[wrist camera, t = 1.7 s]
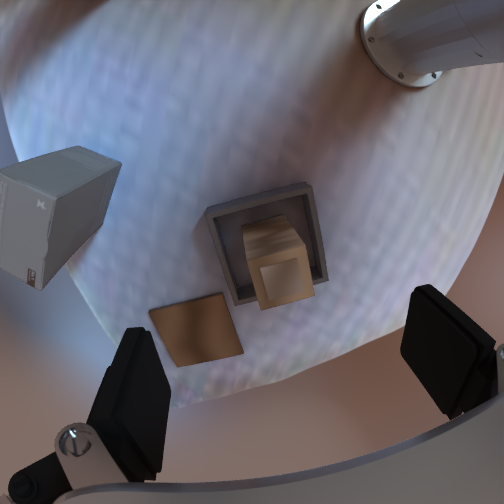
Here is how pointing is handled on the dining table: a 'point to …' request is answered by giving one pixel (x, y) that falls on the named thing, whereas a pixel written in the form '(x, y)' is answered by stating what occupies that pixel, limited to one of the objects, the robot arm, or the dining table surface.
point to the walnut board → (197, 330)
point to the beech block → (277, 262)
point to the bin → (304, 189)
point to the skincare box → (51, 210)
